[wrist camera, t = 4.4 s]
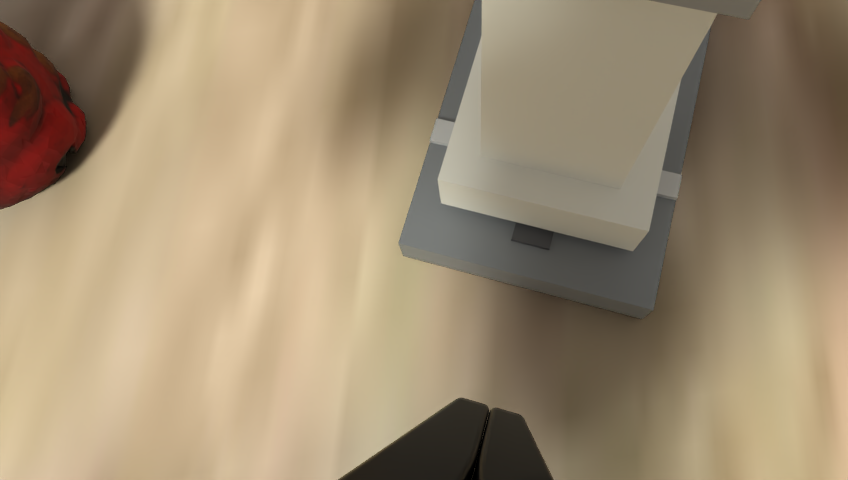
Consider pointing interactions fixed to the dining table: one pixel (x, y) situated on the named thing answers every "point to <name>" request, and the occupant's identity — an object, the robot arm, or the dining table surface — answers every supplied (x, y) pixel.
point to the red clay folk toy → (33, 120)
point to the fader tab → (574, 112)
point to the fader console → (534, 247)
